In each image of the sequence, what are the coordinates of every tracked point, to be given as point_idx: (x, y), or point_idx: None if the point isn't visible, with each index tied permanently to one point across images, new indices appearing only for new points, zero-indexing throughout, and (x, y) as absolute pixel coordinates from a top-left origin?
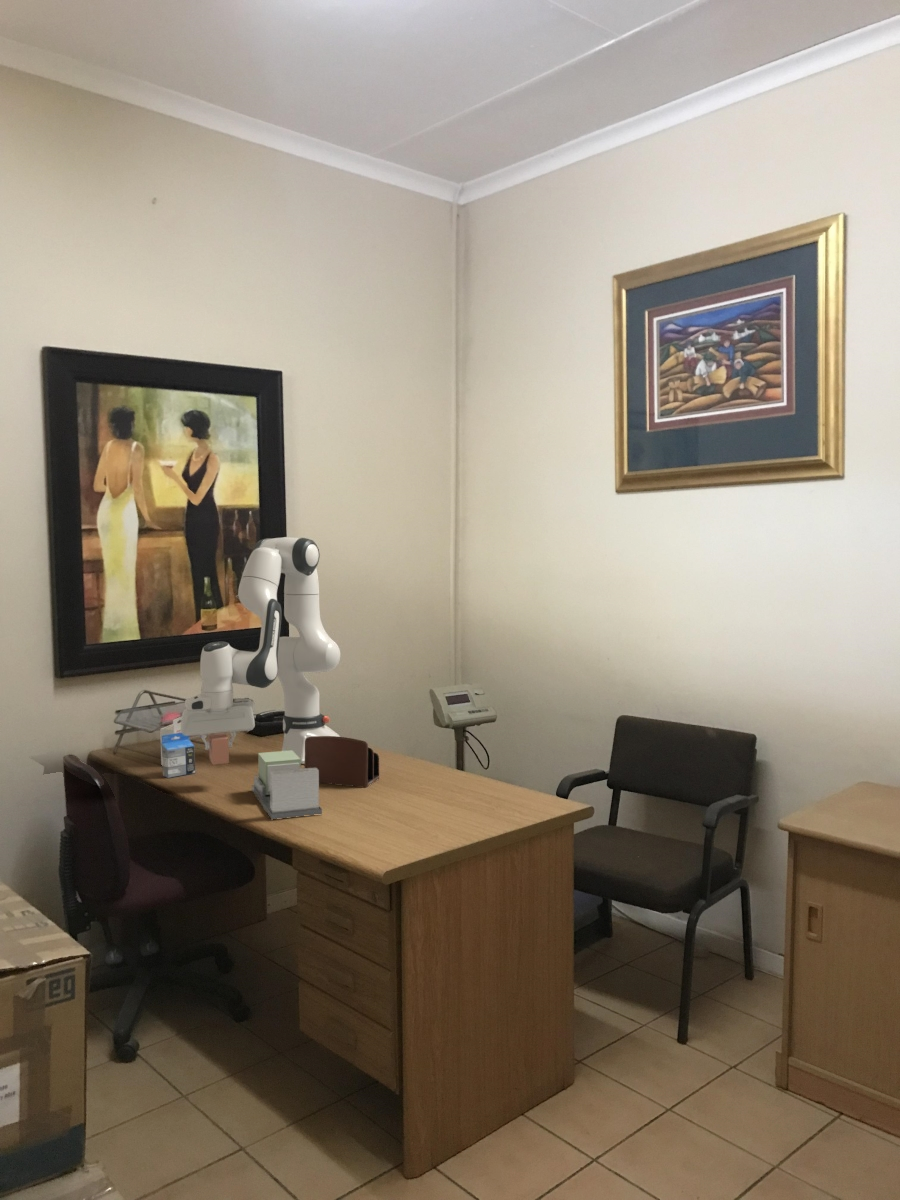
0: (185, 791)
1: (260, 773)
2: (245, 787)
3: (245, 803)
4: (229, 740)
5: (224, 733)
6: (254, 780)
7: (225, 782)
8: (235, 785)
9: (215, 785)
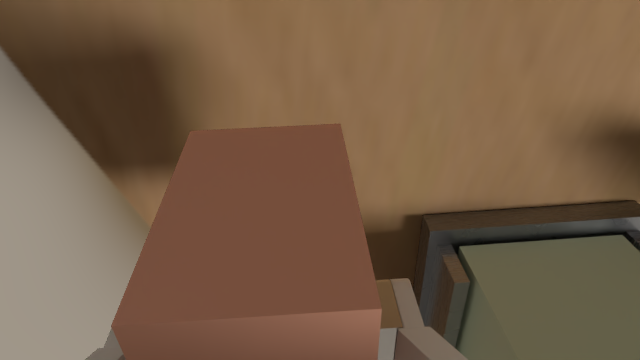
0: (86, 145)
1: (476, 343)
2: (409, 156)
3: None
4: (396, 348)
5: (371, 328)
6: (445, 271)
7: (321, 16)
8: (368, 104)
9: (255, 70)
